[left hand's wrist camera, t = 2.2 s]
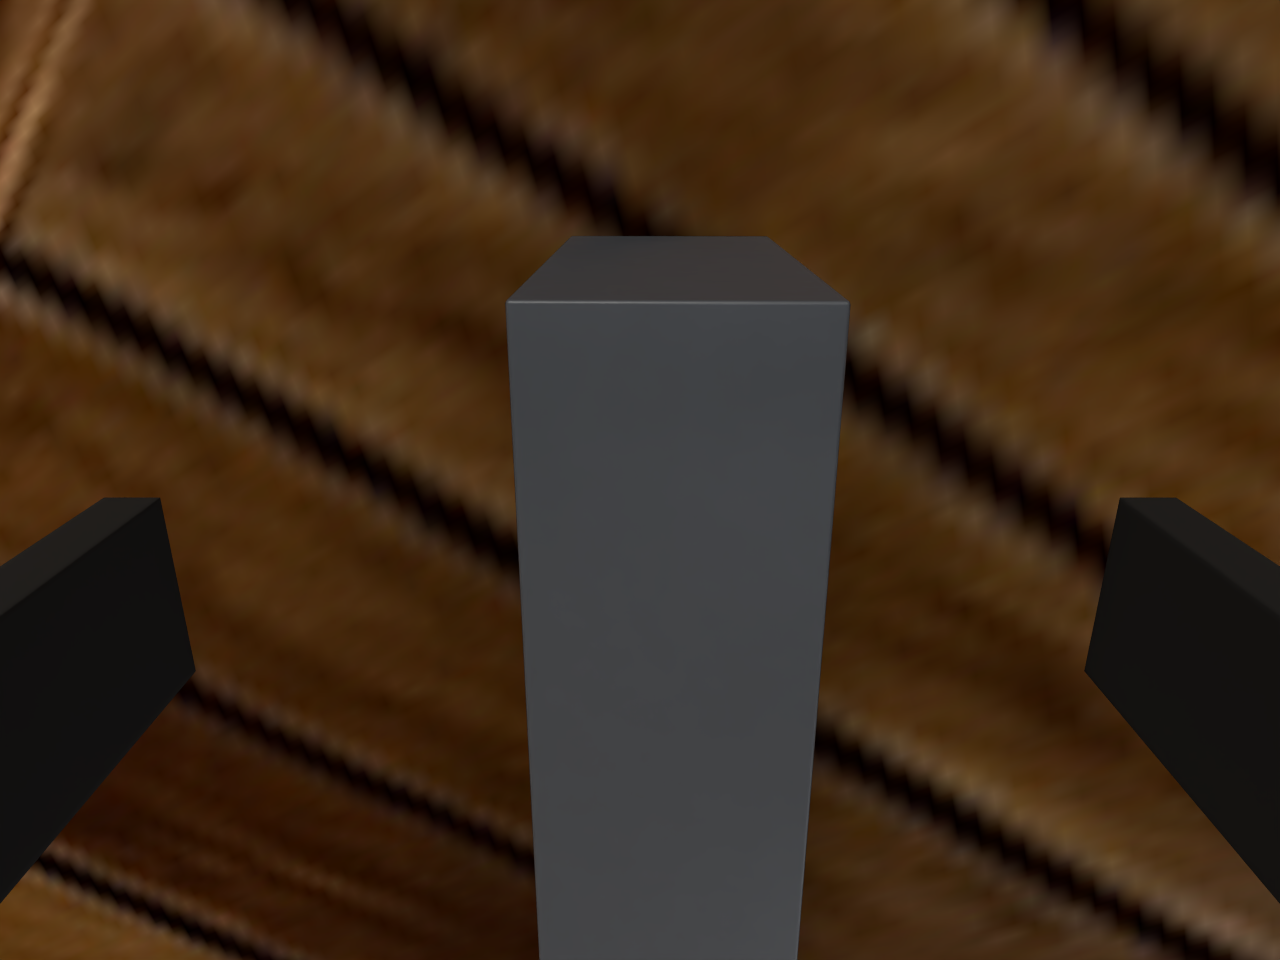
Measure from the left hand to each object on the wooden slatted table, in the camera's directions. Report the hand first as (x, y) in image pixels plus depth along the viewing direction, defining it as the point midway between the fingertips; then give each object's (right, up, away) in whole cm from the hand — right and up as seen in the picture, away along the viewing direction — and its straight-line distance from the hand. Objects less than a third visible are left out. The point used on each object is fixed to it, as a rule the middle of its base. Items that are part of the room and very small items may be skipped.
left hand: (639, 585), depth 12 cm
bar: (+1, -4, +12) cm, 12 cm away
